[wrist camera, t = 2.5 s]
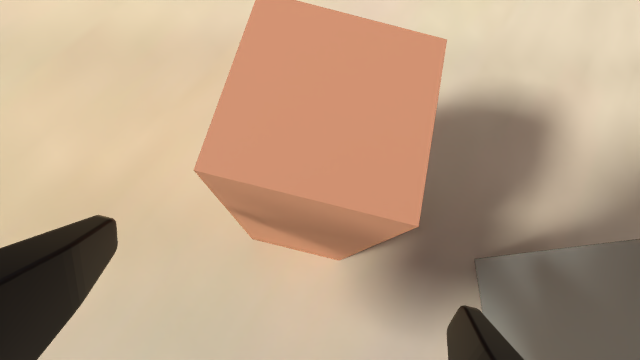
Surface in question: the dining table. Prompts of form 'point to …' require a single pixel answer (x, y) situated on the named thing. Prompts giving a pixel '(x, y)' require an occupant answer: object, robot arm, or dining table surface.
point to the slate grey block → (566, 301)
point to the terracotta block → (324, 129)
